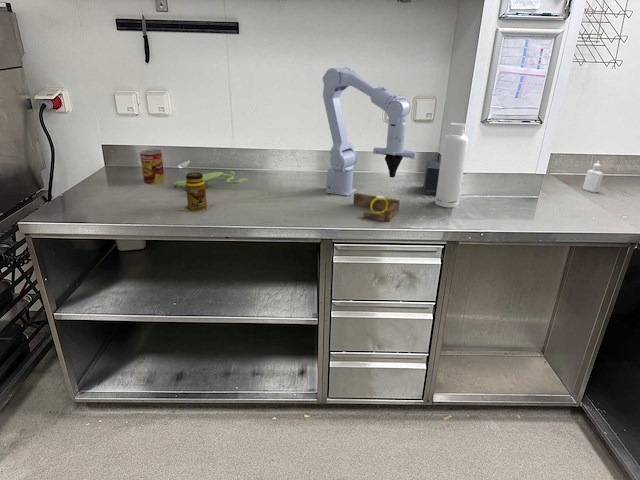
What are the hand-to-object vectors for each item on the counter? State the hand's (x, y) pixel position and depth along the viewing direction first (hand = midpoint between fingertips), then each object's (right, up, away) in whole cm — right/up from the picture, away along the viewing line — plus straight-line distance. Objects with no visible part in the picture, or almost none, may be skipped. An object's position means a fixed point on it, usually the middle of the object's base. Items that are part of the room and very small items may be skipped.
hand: (392, 176), depth 152 cm
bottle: (+20, -9, +6) cm, 23 cm away
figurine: (-67, -2, +18) cm, 69 cm away
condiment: (-67, -11, -3) cm, 68 cm away
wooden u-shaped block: (-8, -13, -4) cm, 16 cm away
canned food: (-91, +1, +23) cm, 94 cm away
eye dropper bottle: (+82, -3, +22) cm, 85 cm away
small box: (+18, -3, +19) cm, 26 cm away
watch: (-5, -13, -4) cm, 15 cm away
